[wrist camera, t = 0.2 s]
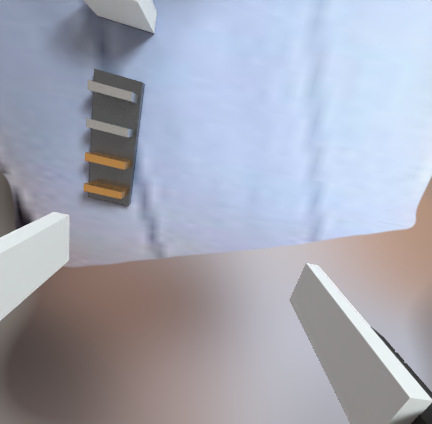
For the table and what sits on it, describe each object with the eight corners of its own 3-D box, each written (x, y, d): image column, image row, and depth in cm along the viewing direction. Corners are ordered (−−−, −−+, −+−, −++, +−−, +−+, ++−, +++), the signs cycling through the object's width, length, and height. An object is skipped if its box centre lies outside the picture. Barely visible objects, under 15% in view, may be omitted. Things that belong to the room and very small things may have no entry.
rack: (97, 70, 31) (84, 63, 28) (144, 84, 32) (137, 78, 29) (91, 195, 38) (80, 201, 35) (130, 204, 39) (123, 210, 35)
